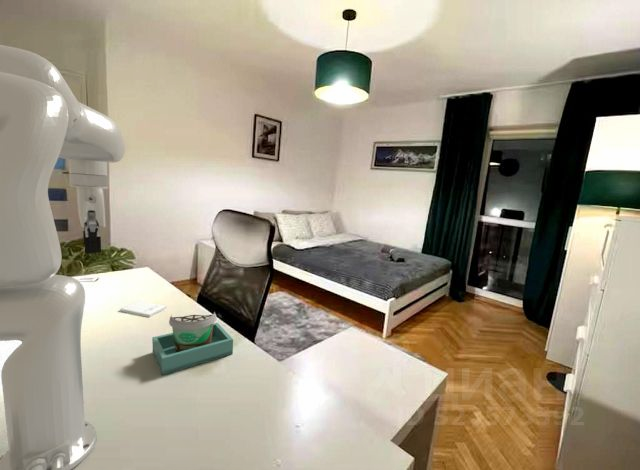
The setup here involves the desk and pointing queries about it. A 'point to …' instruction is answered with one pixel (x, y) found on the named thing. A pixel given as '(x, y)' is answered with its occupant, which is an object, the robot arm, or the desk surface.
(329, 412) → the desk surface
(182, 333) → the food container
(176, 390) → the desk surface
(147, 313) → the external hard drive
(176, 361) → the bin
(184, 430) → the desk surface
